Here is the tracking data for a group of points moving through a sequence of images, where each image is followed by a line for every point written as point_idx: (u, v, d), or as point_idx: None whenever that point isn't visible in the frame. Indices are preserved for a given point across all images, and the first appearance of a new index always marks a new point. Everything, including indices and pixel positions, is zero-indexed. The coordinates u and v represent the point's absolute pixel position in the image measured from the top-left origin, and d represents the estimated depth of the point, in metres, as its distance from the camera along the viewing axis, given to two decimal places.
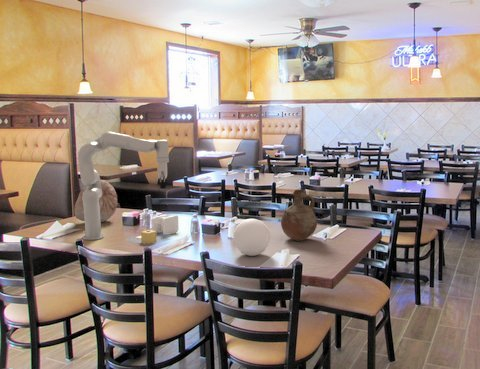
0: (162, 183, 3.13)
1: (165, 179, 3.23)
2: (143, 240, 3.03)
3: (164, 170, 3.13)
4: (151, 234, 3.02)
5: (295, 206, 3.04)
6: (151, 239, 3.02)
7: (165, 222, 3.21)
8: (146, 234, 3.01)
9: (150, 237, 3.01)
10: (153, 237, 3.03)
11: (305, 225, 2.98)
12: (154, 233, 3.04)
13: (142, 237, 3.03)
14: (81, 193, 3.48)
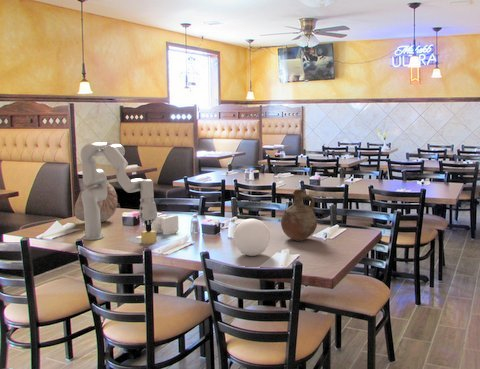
0: None
1: None
2: (143, 240, 3.03)
3: None
4: (151, 234, 3.02)
5: (295, 206, 3.04)
6: (151, 239, 3.02)
7: (165, 222, 3.21)
8: (146, 234, 3.01)
9: (150, 237, 3.01)
10: (153, 237, 3.03)
11: (305, 225, 2.98)
12: (154, 233, 3.04)
13: (142, 237, 3.03)
14: (81, 193, 3.48)
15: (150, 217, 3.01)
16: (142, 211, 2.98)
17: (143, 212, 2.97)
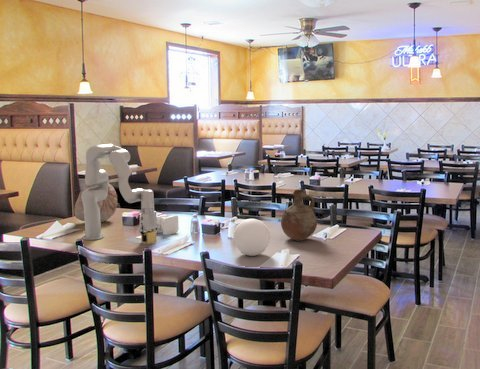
0: None
1: None
2: None
3: None
4: (151, 234, 3.02)
5: (295, 206, 3.04)
6: (151, 239, 3.02)
7: (165, 222, 3.21)
8: (146, 234, 3.01)
9: (150, 237, 3.01)
10: (153, 237, 3.03)
11: (305, 225, 2.98)
12: (154, 233, 3.04)
13: None
14: (81, 193, 3.48)
15: (150, 227, 3.01)
16: (142, 221, 2.99)
17: (143, 222, 2.98)
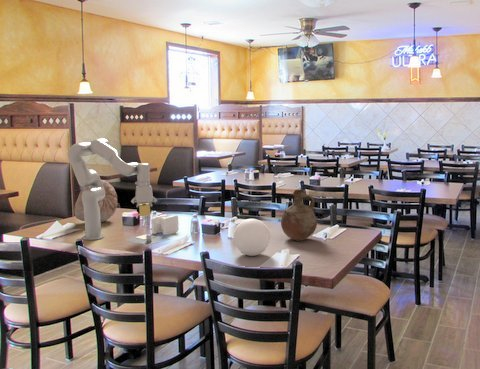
0: (151, 207, 3.12)
1: None
2: None
3: None
4: (143, 207, 3.07)
5: (295, 206, 3.04)
6: (143, 212, 3.08)
7: (165, 222, 3.21)
8: (139, 207, 3.08)
9: (142, 210, 3.07)
10: (146, 211, 3.08)
11: (305, 225, 2.98)
12: (147, 207, 3.08)
13: None
14: (81, 193, 3.48)
15: (143, 200, 3.07)
16: None
17: None
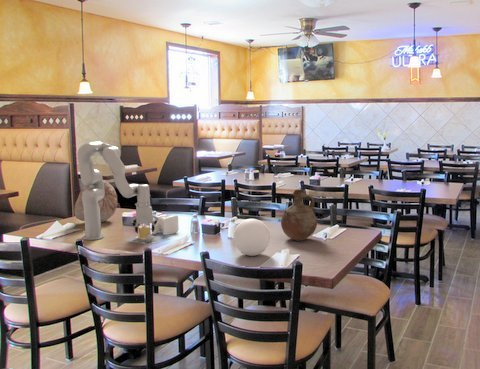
0: None
1: None
2: (139, 234, 3.16)
3: None
4: (143, 230, 3.12)
5: (295, 206, 3.04)
6: (143, 234, 3.12)
7: (165, 222, 3.21)
8: (139, 229, 3.13)
9: (142, 232, 3.12)
10: (146, 233, 3.13)
11: (305, 225, 2.98)
12: (147, 229, 3.13)
13: None
14: (81, 193, 3.48)
15: (143, 221, 3.11)
16: (136, 214, 3.11)
17: (136, 215, 3.11)
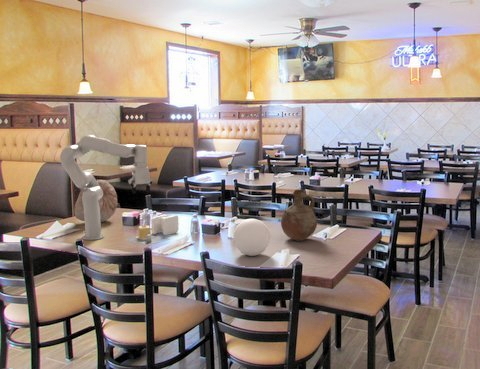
0: None
1: None
2: (139, 234, 3.16)
3: None
4: (143, 230, 3.12)
5: (295, 206, 3.04)
6: (143, 234, 3.12)
7: (165, 222, 3.21)
8: (139, 229, 3.13)
9: (142, 232, 3.12)
10: (146, 233, 3.13)
11: (305, 225, 2.98)
12: (147, 229, 3.13)
13: None
14: (81, 193, 3.48)
15: (142, 181, 3.13)
16: (134, 175, 3.11)
17: (135, 176, 3.10)
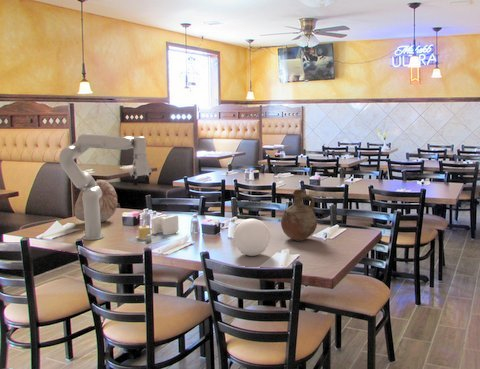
0: None
1: None
2: (139, 234, 3.16)
3: None
4: (143, 230, 3.12)
5: (295, 206, 3.04)
6: (143, 234, 3.12)
7: (165, 222, 3.21)
8: (139, 229, 3.13)
9: (142, 232, 3.12)
10: (146, 233, 3.13)
11: (305, 225, 2.98)
12: (147, 229, 3.13)
13: None
14: (81, 193, 3.48)
15: (143, 173, 3.15)
16: (135, 166, 3.12)
17: (136, 167, 3.12)
